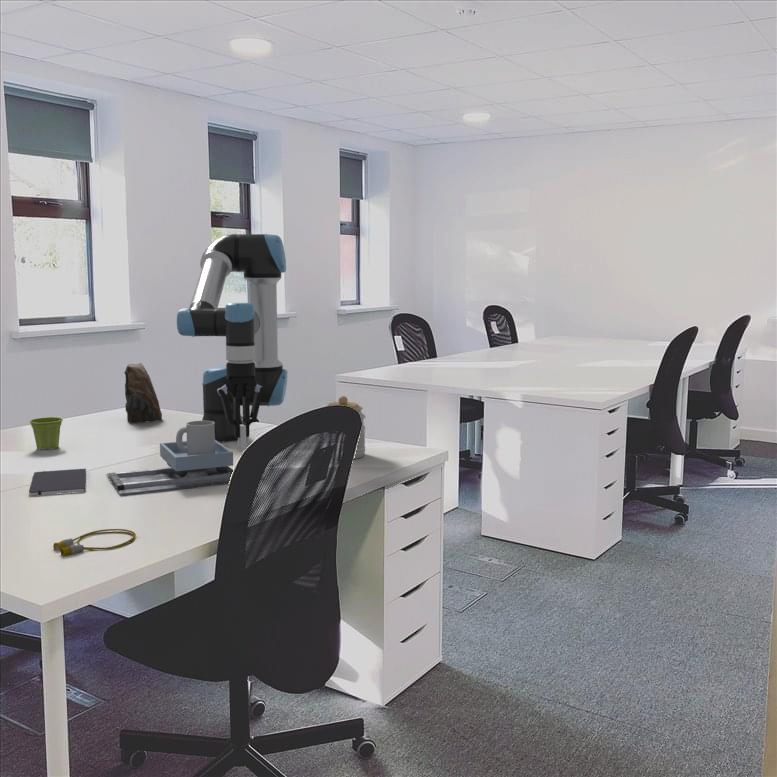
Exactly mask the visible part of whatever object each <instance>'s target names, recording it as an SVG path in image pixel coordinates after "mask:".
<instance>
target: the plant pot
mask: <svg viewBox="0 0 777 777" xmlns="http://www.w3.org/2000/svg"><path fill="white" fill-rule="evenodd" d="M63 420H64V418H63V417H57V416H55V417H53V416H49V417H47V416H46V417H39V418H33V419H30V420H28V422H29V424H30V426H31V428H32V431H33V436H34V440H35V444H36V449H38V450H39V449H41V450H46V451H49V450H55V449H57V448H59V446H60V435H61V426H62V422H63Z"/></svg>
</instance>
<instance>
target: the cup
mask: <svg viewBox="0 0 777 777" xmlns="http://www.w3.org/2000/svg"><path fill="white" fill-rule="evenodd" d="M184 434H186V441H187V446H184V445H183V435H184ZM175 436H176V437H175V442H176V443H177V446H178V448H179V449H180V450H181V451H183V452H187V456H190V455H200V454H211V453H215V422H213V421H202V420H193V421H192V420H191V421H188V422H186V425H185V426H183V427H180V428H179V429H178V430H177V432H176V435H175Z"/></svg>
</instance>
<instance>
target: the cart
mask: <svg viewBox="0 0 777 777" xmlns="http://www.w3.org/2000/svg"><path fill="white" fill-rule="evenodd" d="M182 441H183V440H182ZM183 445H184V446H187V440H184V441H183ZM159 452H160V453H159V456H160V457H161V459H162V460H164V462H166V464H167V466H168V467H172V468H173V469H174V470H175V471H177V474H178V475H179V476H180V477H185V476H186V475H187V470H194V469H204V468H214V467H216V470H217V471H218V472H219V473H224V472H225V471H226V466H229V467H232V466H234V451H232V450H231V449H229V447H226V446H225V445H223V444H222V442H218V441H216V440H215V453H211V454H200V455H190V456H187V452H183V451H181V450H180V449H179V448H178V446H177V443H176V441H171V442H160V443H159Z"/></svg>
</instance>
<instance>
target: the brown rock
mask: <svg viewBox="0 0 777 777" xmlns="http://www.w3.org/2000/svg"><path fill="white" fill-rule="evenodd" d="M123 373H124V375H125V383H124V394H125V401H126V402H125V411H126V415H127V416H126V419H127V420H126V422H128V423H130V422H131V424H139V423H138V422H140V423H147V422H146V421H149V422H156V421H155V420H159V421H162V420H163V418H162V417H163V413H162V411H161V407H160V403H159V399H158V396H157V393H156V390H155V388H154V384H153V382H152V380H151V377H150V375H149V373H148V370H147V369H146V368H145V366H144V364H142V363H141V362H140V363H136V364H135V363H129V364H127V366H126V368H125V371H124V372H123ZM161 419H162V420H161Z"/></svg>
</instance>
